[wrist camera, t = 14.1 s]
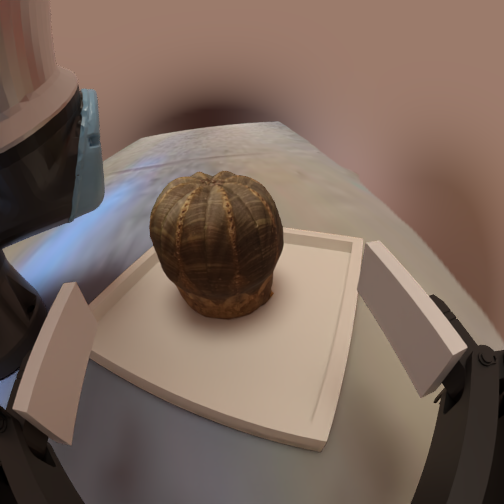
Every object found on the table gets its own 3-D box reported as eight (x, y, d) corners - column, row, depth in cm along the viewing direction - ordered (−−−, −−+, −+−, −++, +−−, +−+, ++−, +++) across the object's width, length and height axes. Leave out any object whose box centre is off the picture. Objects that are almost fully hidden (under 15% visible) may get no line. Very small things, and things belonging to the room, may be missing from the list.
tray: (74, 347, 23) (62, 330, 21) (191, 231, 41) (188, 216, 40) (320, 452, 14) (326, 441, 13) (360, 256, 33) (362, 238, 31)
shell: (151, 325, 24) (109, 203, 18) (199, 259, 33) (181, 159, 26) (267, 350, 21) (260, 207, 15) (291, 269, 30) (291, 157, 24)
